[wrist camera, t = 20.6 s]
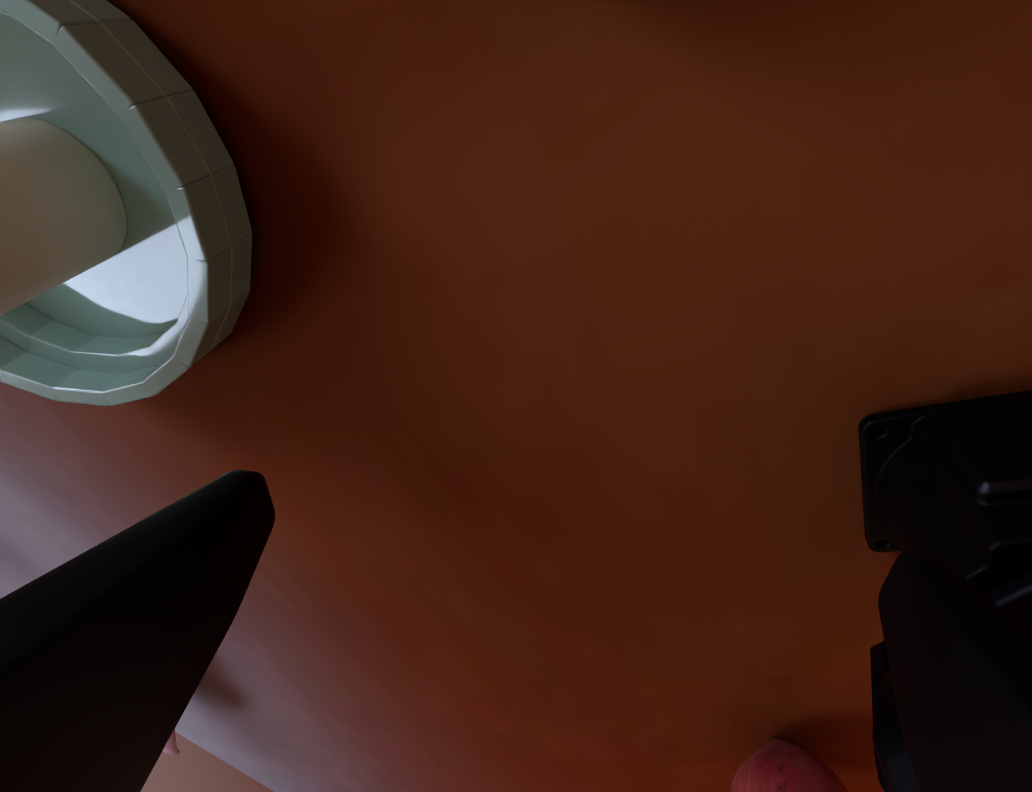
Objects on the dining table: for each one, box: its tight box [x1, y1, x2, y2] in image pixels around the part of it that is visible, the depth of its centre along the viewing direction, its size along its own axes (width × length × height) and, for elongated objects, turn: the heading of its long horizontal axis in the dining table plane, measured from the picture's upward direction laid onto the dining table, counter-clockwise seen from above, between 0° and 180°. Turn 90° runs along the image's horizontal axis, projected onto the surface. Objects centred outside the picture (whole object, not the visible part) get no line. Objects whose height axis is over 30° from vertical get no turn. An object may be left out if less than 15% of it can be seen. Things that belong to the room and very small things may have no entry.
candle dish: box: [0, 0, 252, 406], centre depth 21 cm, size 14×14×3 cm
